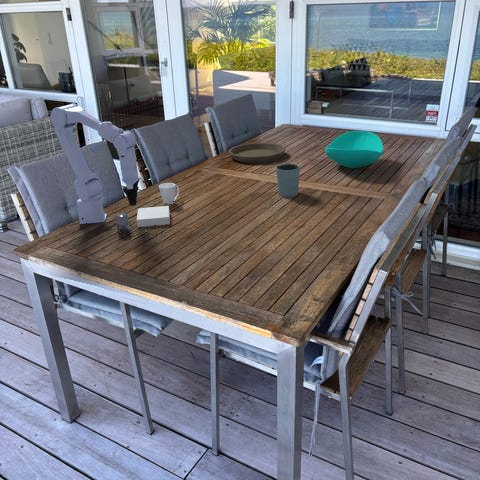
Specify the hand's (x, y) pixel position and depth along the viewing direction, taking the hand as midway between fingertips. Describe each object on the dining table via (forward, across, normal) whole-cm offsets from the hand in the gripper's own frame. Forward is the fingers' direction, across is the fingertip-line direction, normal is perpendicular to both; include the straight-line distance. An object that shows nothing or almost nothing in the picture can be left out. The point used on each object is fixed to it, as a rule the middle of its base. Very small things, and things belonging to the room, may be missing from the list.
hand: (133, 201), depth 177 cm
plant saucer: (+10, +82, -63) cm, 104 cm away
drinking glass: (+10, +19, -64) cm, 67 cm away
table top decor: (+10, +49, -105) cm, 117 cm away
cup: (+10, +22, -14) cm, 27 cm away
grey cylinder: (+10, -4, +5) cm, 11 cm away
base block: (+10, +4, -6) cm, 12 cm away
